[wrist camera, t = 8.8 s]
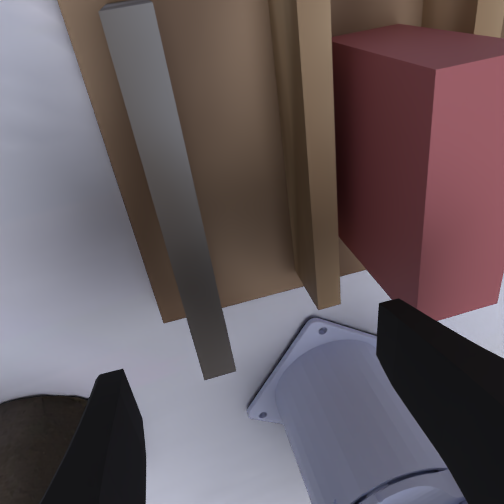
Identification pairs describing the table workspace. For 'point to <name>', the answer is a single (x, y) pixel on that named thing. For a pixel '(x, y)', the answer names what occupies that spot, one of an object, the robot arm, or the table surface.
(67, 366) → the table surface
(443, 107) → the book
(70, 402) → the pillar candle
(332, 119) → the book stand
